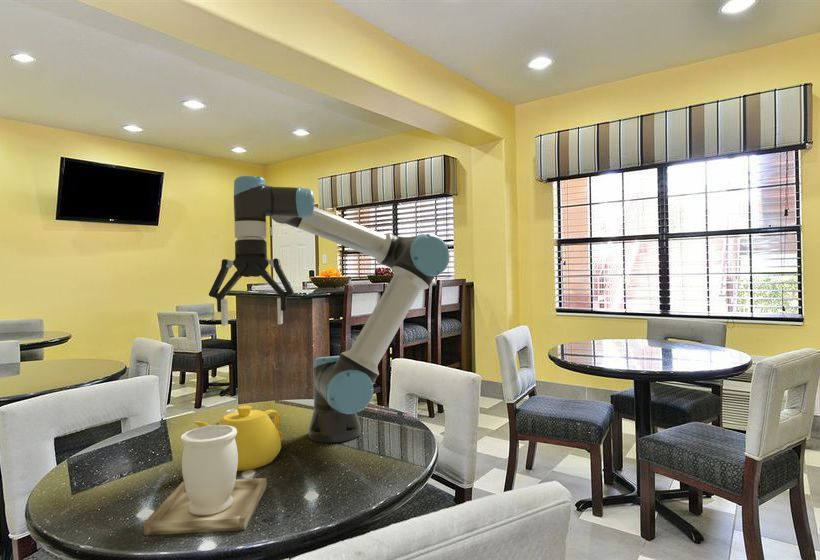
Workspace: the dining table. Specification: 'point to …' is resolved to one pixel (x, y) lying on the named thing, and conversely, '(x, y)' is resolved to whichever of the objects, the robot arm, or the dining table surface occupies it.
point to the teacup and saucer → (230, 411)
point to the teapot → (253, 436)
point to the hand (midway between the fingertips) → (252, 324)
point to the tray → (179, 519)
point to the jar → (209, 468)
